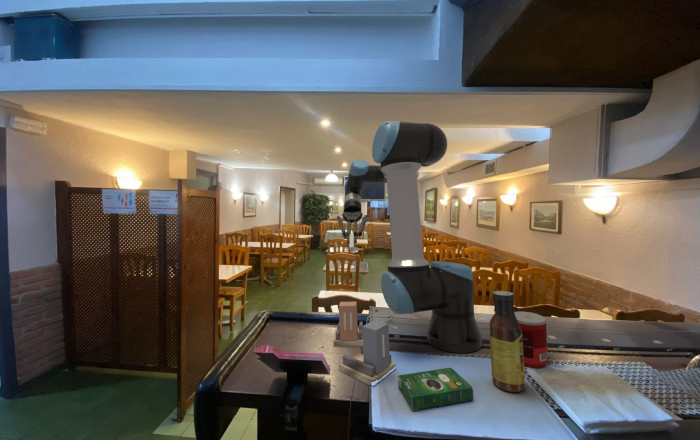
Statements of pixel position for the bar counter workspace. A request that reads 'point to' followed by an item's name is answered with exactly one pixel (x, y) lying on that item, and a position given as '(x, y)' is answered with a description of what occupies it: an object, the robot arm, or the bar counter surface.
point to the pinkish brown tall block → (348, 320)
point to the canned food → (533, 338)
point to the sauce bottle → (506, 344)
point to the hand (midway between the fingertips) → (351, 249)
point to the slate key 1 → (376, 345)
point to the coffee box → (434, 388)
